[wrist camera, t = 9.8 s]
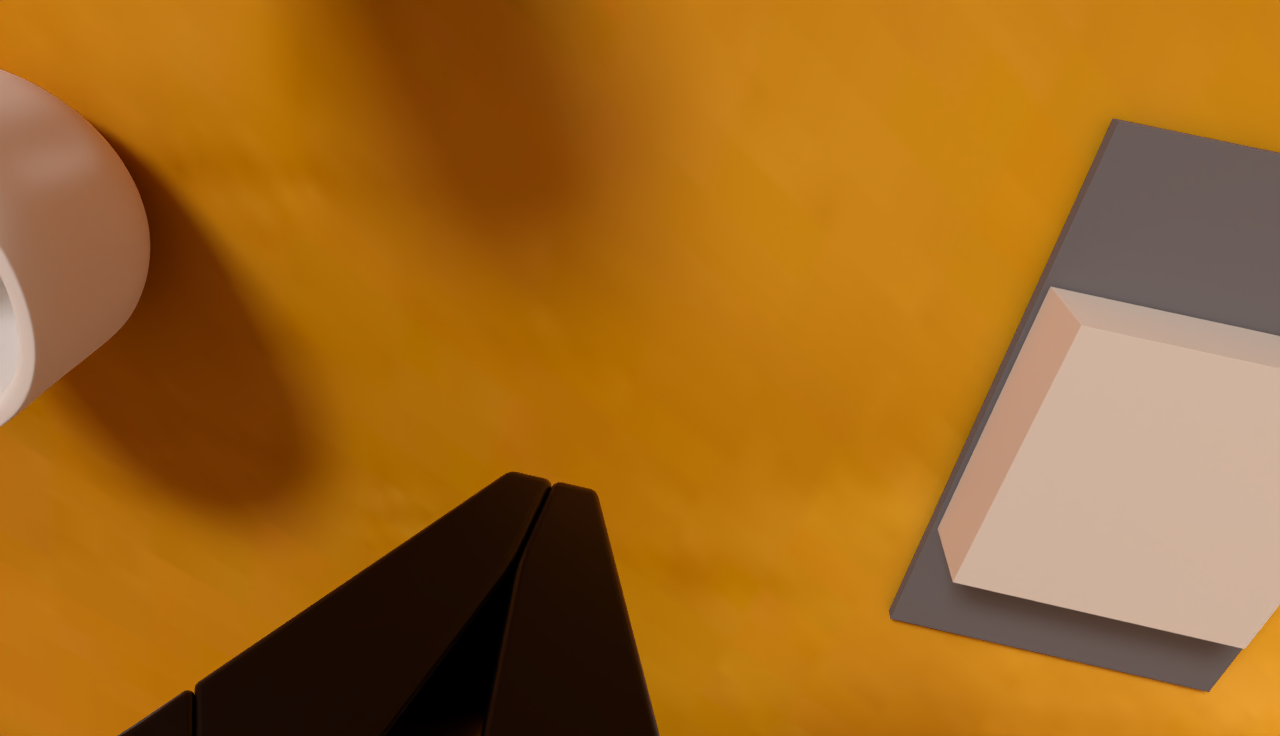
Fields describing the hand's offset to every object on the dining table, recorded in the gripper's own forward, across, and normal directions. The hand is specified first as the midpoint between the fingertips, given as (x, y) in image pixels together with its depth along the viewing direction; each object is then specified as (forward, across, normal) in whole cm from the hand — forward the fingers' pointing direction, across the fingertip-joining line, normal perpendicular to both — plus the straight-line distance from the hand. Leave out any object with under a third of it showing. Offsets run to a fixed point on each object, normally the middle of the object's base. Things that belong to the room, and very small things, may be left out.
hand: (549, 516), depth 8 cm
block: (+11, -9, +4) cm, 14 cm away
